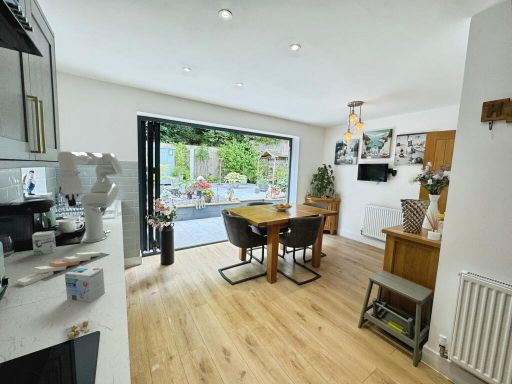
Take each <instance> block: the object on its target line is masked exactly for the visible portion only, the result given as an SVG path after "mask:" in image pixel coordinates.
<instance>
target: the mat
mask: <svg viewBox="0 0 512 384" xmlns="http://www.w3.org/2000/svg"><path fill="white" fill-rule="evenodd" d="M98 252H99V253H101V255H100V256H93V257H91V258H90V260H85V261H80V263H79V264H78V265H70V266H66V270H59V271H53V275H51V276H48V277H46V278H43V279H41V280H40V281H43V282H48V281H50V280H51V279H54V278H57V277H59V276H61V275H65V273H67V272H69V271H71V270H73V269H75V268H77V267H79V266H87V265H88V264H91V263H93V262H96V261H98V260H101V259H104V258H105V257H108V256H110V255H111V254H110V253H106V252H100V251H98Z"/></svg>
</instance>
